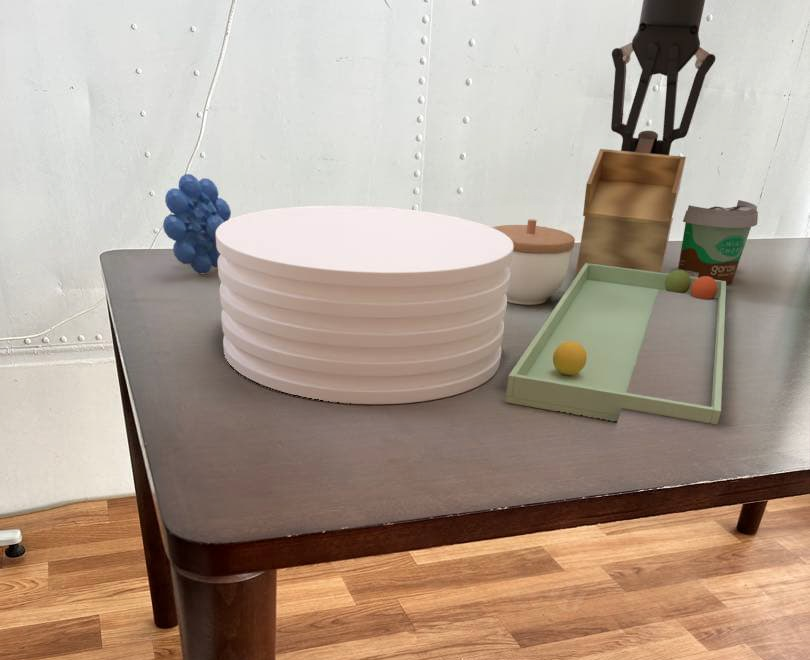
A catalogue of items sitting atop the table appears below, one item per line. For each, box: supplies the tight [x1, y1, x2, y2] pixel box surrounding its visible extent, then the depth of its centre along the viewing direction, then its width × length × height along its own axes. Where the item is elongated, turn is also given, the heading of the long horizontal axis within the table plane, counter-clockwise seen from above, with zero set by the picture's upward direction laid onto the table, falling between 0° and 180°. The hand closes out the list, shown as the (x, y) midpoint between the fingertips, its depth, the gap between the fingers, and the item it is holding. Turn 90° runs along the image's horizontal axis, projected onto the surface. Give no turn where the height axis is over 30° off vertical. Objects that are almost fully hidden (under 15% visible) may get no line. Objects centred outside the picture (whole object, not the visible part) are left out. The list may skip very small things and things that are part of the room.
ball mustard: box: [553, 341, 587, 375], centre depth 78 cm, size 3×3×3 cm
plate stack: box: [216, 205, 514, 405], centre depth 81 cm, size 28×28×12 cm
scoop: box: [582, 130, 687, 226], centre depth 109 cm, size 11×15×4 cm
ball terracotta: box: [690, 276, 718, 300], centre depth 103 cm, size 3×3×3 cm
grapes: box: [162, 173, 232, 274], centre depth 102 cm, size 12×7×12 cm, turn 151°
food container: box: [677, 199, 759, 286], centre depth 112 cm, size 12×6×10 cm, turn 126°
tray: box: [504, 263, 727, 425], centre depth 90 cm, size 18×46×3 cm, turn 161°
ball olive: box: [665, 269, 691, 294], centre depth 105 cm, size 3×3×3 cm
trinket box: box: [492, 218, 576, 306], centre depth 101 cm, size 11×11×9 cm
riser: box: [574, 216, 674, 277], centre depth 113 cm, size 11×6×8 cm, turn 71°
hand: (637, 190), depth 115 cm, fingers closed on scoop, 3 cm apart
